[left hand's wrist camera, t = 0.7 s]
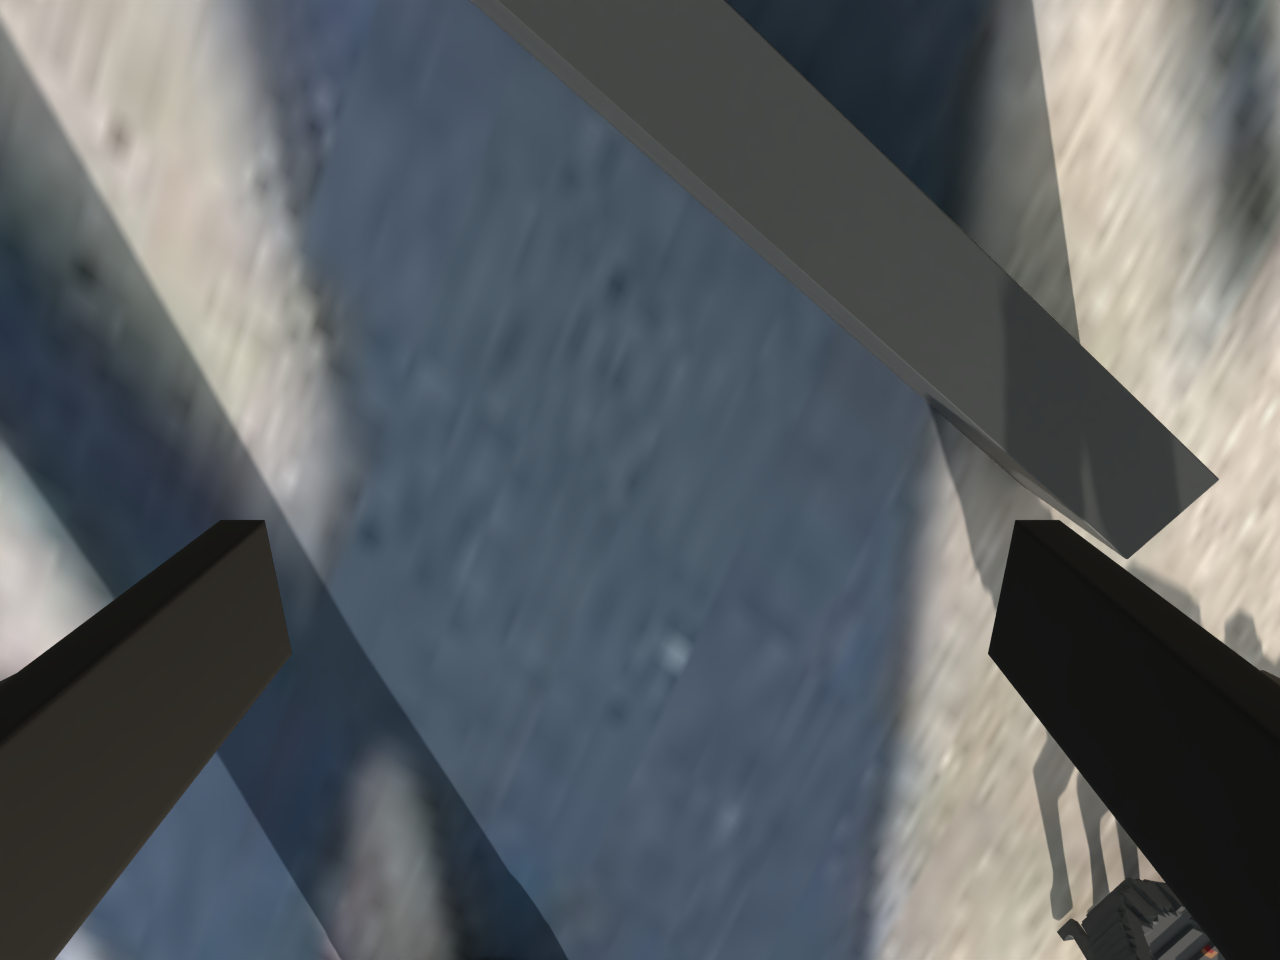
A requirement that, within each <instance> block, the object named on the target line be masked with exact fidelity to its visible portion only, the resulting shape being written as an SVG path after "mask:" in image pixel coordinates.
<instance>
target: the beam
mask: <svg viewBox="0 0 1280 960" xmlns="http://www.w3.org/2000/svg"><path fill="white" fill-rule="evenodd" d="M470 1H471V2H472V3H473V4H474V5H476V6H477V7H478V8H479V9H480V10H481V11H482V12H484V13H485V14H486V15H487V16H488V17H489V18H490V19H491V20H493V21H494V22H495V23H496V24H497V25H498V26H499V27H501V28H502V29H503V30H504V31H505V32H506V33H507V34H509V35H510V36H511V37H512V38H513V39H514V40H515V41H517V42H518V43H519V44H520V45H521V46H522V47H523V48H525V49H526V50H527V51H528V52H529V53H530V54H531V55H533V56H534V57H535V58H536V59H537V60H538V61H539V62H540V63H542V64H543V65H544V66H545V67H546V68H547V69H548V70H550V71H551V72H552V73H553V74H554V75H555V76H556V77H558V78H559V79H560V80H561V81H562V82H563V83H564V84H566V85H567V86H568V87H569V88H570V89H571V90H572V91H574V92H575V93H576V94H577V95H578V96H579V97H580V98H581V99H583V100H584V101H585V102H586V103H587V104H588V105H589V106H591V107H592V108H593V109H594V110H595V111H596V112H597V113H599V114H600V115H601V116H602V117H603V118H604V119H605V120H607V121H608V122H609V123H610V124H611V125H612V126H613V127H615V128H616V129H617V130H618V131H619V132H620V133H621V134H623V135H624V136H625V137H626V138H627V139H628V140H629V141H630V142H632V143H633V144H634V145H635V146H636V147H637V148H638V149H640V150H641V151H642V152H643V153H644V154H645V155H646V156H648V157H649V158H650V159H651V160H652V161H653V162H654V163H656V164H657V165H658V166H659V167H660V168H661V169H662V170H664V171H665V172H666V173H667V174H668V175H669V176H670V177H671V178H673V179H674V180H675V181H676V182H677V183H678V184H679V185H681V186H682V187H683V188H684V189H685V190H686V191H687V192H689V193H690V194H691V195H692V196H693V197H694V198H695V199H697V200H698V201H699V202H700V203H701V204H702V205H703V206H705V207H706V208H707V209H708V210H709V211H710V212H711V213H713V214H714V215H715V216H716V217H717V218H718V219H719V220H720V221H722V222H723V223H724V224H725V225H726V226H727V227H728V228H730V229H731V230H732V231H733V232H734V233H735V234H736V235H738V236H739V237H740V238H741V239H742V240H743V241H744V242H746V243H747V244H748V245H749V246H750V247H751V248H752V249H754V250H755V251H756V252H757V253H758V254H759V255H760V256H761V257H763V258H764V259H765V260H766V261H767V262H768V263H769V264H771V265H772V266H773V267H774V268H775V269H776V270H777V271H779V272H780V273H781V274H782V275H783V276H784V277H785V278H787V279H788V280H789V281H790V282H791V283H792V284H793V285H795V286H796V287H797V288H798V289H799V290H800V291H801V292H803V293H804V294H805V295H806V296H807V297H808V298H809V299H810V300H812V301H813V302H814V303H815V304H816V305H817V306H818V307H820V308H821V309H822V310H823V311H824V312H825V313H826V314H828V315H829V316H830V317H831V318H832V319H833V320H834V321H836V322H837V323H838V324H839V325H840V326H841V327H842V328H844V329H845V330H846V331H847V332H848V333H849V334H850V335H851V336H853V337H854V338H855V339H856V340H857V341H858V342H859V343H861V344H862V345H863V346H864V347H865V348H866V349H867V350H869V351H870V352H871V353H872V354H873V355H874V356H875V357H877V358H878V359H879V360H880V361H881V362H882V363H883V364H885V365H886V366H887V367H888V368H889V369H890V370H891V371H893V372H894V373H895V374H896V375H897V376H898V377H899V378H900V379H902V380H903V381H904V382H905V383H906V384H907V385H908V386H910V387H911V388H912V389H913V390H914V391H915V392H916V393H918V394H919V395H920V396H921V397H922V398H923V399H924V400H926V401H927V402H928V403H929V404H930V405H931V406H932V407H934V408H935V409H936V410H937V411H938V412H939V413H940V414H941V415H943V416H944V417H945V418H946V419H947V420H948V421H949V422H951V423H952V424H953V425H954V426H955V427H956V428H957V429H959V430H960V431H961V432H962V433H963V434H964V435H965V436H967V437H968V438H969V439H970V440H971V441H972V442H973V443H975V444H976V445H977V446H978V447H979V448H980V449H981V450H982V451H984V452H985V453H986V454H987V455H988V456H989V457H990V458H992V459H993V460H994V461H995V462H996V463H997V464H998V465H1000V466H1001V467H1002V468H1003V469H1004V470H1005V471H1006V472H1008V473H1009V474H1010V475H1011V476H1012V477H1013V478H1014V479H1016V480H1017V481H1018V482H1019V483H1020V484H1021V485H1022V486H1024V487H1025V488H1026V489H1028V490H1029V491H1031V492H1032V493H1034V494H1035V495H1036V496H1038V497H1039V498H1041V499H1042V500H1043V501H1045V502H1046V503H1048V504H1049V505H1050V506H1052V507H1053V508H1055V509H1056V510H1058V511H1059V512H1060V513H1062V514H1063V515H1065V516H1066V517H1067V518H1069V519H1070V520H1072V521H1073V522H1074V523H1076V524H1077V525H1079V526H1080V527H1081V528H1083V529H1084V530H1086V531H1087V532H1089V533H1090V534H1091V535H1093V536H1094V537H1096V538H1097V539H1098V540H1100V541H1101V542H1103V543H1104V544H1105V545H1107V546H1108V547H1110V548H1111V549H1113V550H1114V551H1115V552H1117V553H1118V554H1120V555H1121V556H1122V557H1124V558H1125V559H1129V558H1130V557H1131V556H1132V555H1133V554H1134V553H1135V552H1137V551H1138V550H1139V549H1140V548H1141V547H1142V546H1143V545H1145V544H1146V543H1147V542H1148V541H1149V540H1150V539H1152V538H1153V537H1154V536H1155V535H1156V534H1157V533H1158V532H1160V531H1161V530H1162V529H1163V528H1164V527H1165V526H1166V525H1168V524H1169V523H1170V522H1171V521H1172V520H1173V519H1175V518H1176V517H1177V516H1178V515H1179V514H1180V513H1181V512H1183V511H1184V510H1185V509H1186V508H1187V507H1188V506H1190V505H1191V504H1192V503H1193V502H1194V501H1195V500H1196V499H1198V498H1199V497H1200V496H1201V495H1202V494H1203V493H1204V492H1206V491H1207V490H1208V489H1209V488H1210V487H1211V486H1213V485H1214V484H1215V483H1216V482H1217V481H1218V480H1219V479H1218V478H1217V477H1216V476H1215V475H1214V474H1213V473H1212V472H1211V471H1210V470H1209V469H1208V468H1207V467H1206V466H1205V465H1204V464H1203V463H1202V462H1201V461H1200V460H1199V459H1198V458H1197V457H1196V456H1195V455H1194V454H1193V453H1192V452H1191V451H1190V450H1189V449H1188V448H1187V447H1185V446H1184V445H1183V444H1182V443H1181V442H1180V441H1179V440H1178V439H1177V438H1176V437H1175V436H1174V435H1173V434H1172V433H1171V432H1170V431H1169V430H1168V429H1167V428H1166V427H1165V426H1164V425H1163V424H1162V423H1161V422H1160V421H1159V420H1158V419H1157V418H1156V417H1155V416H1154V415H1152V414H1151V413H1150V412H1149V411H1148V410H1147V409H1146V408H1145V407H1144V406H1143V405H1142V404H1141V403H1140V402H1139V401H1138V400H1137V399H1136V398H1135V397H1134V396H1133V395H1132V394H1131V393H1130V392H1129V391H1128V390H1127V389H1126V388H1125V387H1124V386H1123V385H1122V384H1121V383H1119V382H1118V381H1117V380H1116V379H1115V378H1114V377H1113V376H1112V375H1111V374H1110V373H1109V372H1108V371H1107V370H1106V369H1105V368H1104V367H1103V366H1102V365H1101V364H1100V363H1099V362H1098V361H1097V360H1096V359H1095V358H1094V357H1093V356H1092V355H1091V354H1090V353H1089V352H1088V351H1087V350H1085V349H1084V348H1083V347H1082V346H1081V345H1080V344H1079V343H1078V342H1077V341H1076V340H1075V339H1074V338H1073V337H1072V336H1071V335H1070V334H1069V333H1068V332H1067V331H1066V330H1065V329H1064V328H1063V327H1062V326H1061V325H1060V324H1059V323H1058V322H1057V321H1056V320H1055V319H1054V318H1052V317H1051V316H1050V315H1049V314H1048V313H1047V312H1046V311H1045V310H1044V309H1043V308H1042V307H1041V306H1040V305H1039V304H1038V303H1037V302H1036V301H1035V300H1034V299H1033V298H1032V297H1031V296H1030V295H1029V294H1028V293H1027V292H1026V291H1025V290H1024V289H1023V288H1022V287H1021V286H1019V285H1018V284H1017V283H1016V282H1015V281H1014V280H1013V279H1012V278H1011V277H1010V276H1009V275H1008V274H1007V273H1006V272H1005V271H1004V270H1003V269H1002V268H1001V267H1000V266H999V265H998V264H997V263H996V262H995V261H994V260H993V259H992V258H991V257H990V256H989V255H988V254H986V253H985V252H984V251H983V250H982V249H981V248H980V247H979V246H978V245H977V244H976V243H975V242H974V241H973V240H972V239H971V238H970V237H969V236H968V235H967V234H966V233H965V232H964V231H963V230H962V229H961V228H960V227H959V226H958V225H957V224H956V223H955V222H953V221H952V220H951V219H950V218H949V217H948V216H947V215H946V214H945V213H944V212H943V211H942V210H941V209H940V208H939V207H938V206H937V205H936V204H935V203H934V202H933V201H932V200H931V199H930V198H929V197H928V196H927V195H926V194H925V193H924V192H923V191H922V190H920V189H919V188H918V187H917V186H916V185H915V184H914V183H913V182H912V181H911V180H910V179H909V178H908V177H907V176H906V175H905V174H904V173H903V172H902V171H901V170H900V169H899V168H898V167H897V166H896V165H895V164H894V163H893V162H892V161H891V160H890V159H889V158H887V157H886V156H885V155H884V154H883V153H882V152H881V151H880V150H879V149H878V148H877V147H876V146H875V145H874V144H873V143H872V142H871V141H870V140H869V139H868V138H867V137H866V136H865V135H864V134H863V133H862V132H861V131H860V130H859V129H858V128H857V127H856V126H854V125H853V124H852V123H851V122H850V121H849V120H848V119H847V118H846V117H845V116H844V115H843V114H842V113H841V112H840V111H839V110H838V109H837V108H836V107H835V106H834V105H833V104H832V103H831V102H830V101H829V100H828V99H827V98H826V97H825V96H824V95H823V94H821V93H820V92H819V91H818V90H817V89H816V88H815V87H814V86H813V85H812V84H811V83H810V82H809V81H808V80H807V79H806V78H805V77H804V76H803V75H802V74H801V73H800V72H799V71H798V70H797V69H796V68H795V67H794V66H793V65H792V64H791V63H790V62H788V61H787V60H786V59H785V58H784V57H783V56H782V55H781V54H780V53H779V52H778V51H777V50H776V49H775V48H774V47H773V46H772V45H771V44H770V43H769V42H768V41H767V40H766V39H765V38H764V37H763V36H762V35H761V34H760V33H759V32H758V31H757V30H755V29H754V28H753V27H752V26H751V25H750V24H749V23H748V22H747V21H746V20H745V19H744V18H743V17H742V16H741V15H740V14H739V13H738V12H737V11H736V10H735V9H734V8H733V7H732V6H731V5H730V4H729V3H728V2H727V1H726V0H470Z"/></svg>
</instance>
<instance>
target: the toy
mask: <svg viewBox="0 0 1280 960" xmlns="http://www.w3.org/2000/svg"><path fill="white" fill-rule="evenodd" d="M1086 916H1087V917H1086V918H1085V919H1084V920H1083V921H1082V922H1083V923H1082V924H1081V925H1082V927H1083V928H1084V930H1085V931H1084V930H1083V928H1082V927H1081V926H1080V924H1079V923H1078V922H1077V921H1075V920H1073V919H1070V920H1069V921H1068V922H1067V923H1066V924H1065V925H1064V926H1063V927H1062V928H1061V929H1059V930H1058V931H1057V933H1058V934H1059V935H1060V937H1061V938H1062V939H1063V940H1064V941H1066V940H1073V939H1075V941H1076V943H1077V944H1078V946H1079V948H1080V949H1081V951H1082V953H1083V954H1084V956H1085V958H1086V959H1087V960H1225V958H1224V957H1223V956H1222V954H1221V953H1220V952H1219V951H1218V949H1217V948H1216V947H1215V945H1214V944H1213V943H1212V942H1211V940H1210V939H1209V938H1208V936H1207V935H1206V934H1205V933H1204V931H1203V930H1202V929H1201V927H1200V926H1199V925H1198V924H1197V922H1196V921H1195V920H1194V918H1193V917H1192V916H1191V915H1190V913H1189V912H1188V911H1187V909H1186V908H1185V907H1184V906H1183V904H1182V903H1181V902H1180V900H1179V899H1178V898H1177V897H1176V895H1175V894H1174V893H1173V891H1172V890H1171V889H1170V888H1169V886H1168V885H1167V884H1166V883H1162V882H1155V881H1150V880H1145V879H1144V880H1143V881H1142V880H1140V879H1136V880H1134V879H1131V878H1126V879H1125V880H1124V881H1123V882H1122V883H1121V884H1120V885H1118V886H1117V887H1116V888H1115V889H1114V890H1113V891H1112V892H1111V893H1110V894H1109V895H1108V896H1107V897H1105V898H1104V899H1103V900H1102V901H1101V902H1100V903H1099V904H1098V905H1097V906H1096V907H1095V908H1093V909H1092V910H1091V911H1090V912H1089V913H1088V914H1087V915H1086ZM1086 933H1087V934H1086Z"/></svg>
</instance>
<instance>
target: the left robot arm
mask: <svg viewBox="0 0 1280 960" xmlns="http://www.w3.org/2000/svg"><path fill="white" fill-rule="evenodd" d="M291 654H292V651H291V647H290V642H289V637H288V632H287V627H286V622H285V617H284V612H283V608H282V603H281V598H280V593H279V588H278V583H277V578H276V573H275V569H274V564H273V559H272V554H271V549H270V544H269V539H268V534H267V530H266V525H265V520H220V521H219V522H218V523H216V524H215V525H214V526H212V527H211V528H210V529H208V530H207V531H206V532H204V533H203V534H202V535H200V536H199V537H198V538H196V539H195V540H194V541H192V542H191V543H190V544H188V545H187V546H186V547H184V548H183V549H182V550H180V551H179V552H178V553H176V554H175V555H174V556H172V557H171V558H170V559H168V560H167V561H166V562H164V563H163V564H162V565H160V566H159V567H158V568H156V569H155V570H154V571H152V572H151V573H150V574H148V575H147V576H146V577H144V578H143V579H142V580H140V581H139V582H138V583H136V584H135V585H134V586H132V587H131V588H130V589H128V590H127V591H126V592H124V593H123V594H122V595H120V596H119V597H118V598H116V599H115V600H114V601H112V602H111V603H110V604H108V605H107V606H106V607H104V608H103V609H102V610H100V611H99V612H98V613H96V614H95V615H94V616H92V617H91V618H90V619H88V620H87V621H86V622H84V623H83V624H82V625H80V626H79V627H78V628H76V629H75V630H74V631H72V632H71V633H70V634H68V635H67V636H66V637H64V638H63V639H62V640H60V641H59V642H58V643H56V644H55V645H54V646H52V647H51V648H50V649H48V650H47V651H46V652H44V653H43V654H42V655H40V656H39V657H38V658H36V659H35V660H34V661H32V662H31V663H30V664H28V665H27V666H26V667H24V668H23V669H22V670H20V671H19V672H18V673H16V674H14V675H12V676H10V677H8V678H6V679H4V680H2V681H0V960H55V958H56V957H57V956H58V954H59V953H60V952H61V951H62V949H63V948H64V947H65V945H66V944H67V943H68V942H69V940H70V939H71V938H72V936H73V935H74V934H75V933H76V931H77V930H78V929H79V927H80V926H81V925H82V924H83V922H84V921H85V920H86V918H87V917H88V916H89V915H90V913H91V912H92V911H93V909H94V908H95V907H96V906H97V904H98V903H99V902H100V900H101V899H102V898H103V897H104V895H105V894H106V893H107V891H108V890H109V889H110V888H111V886H112V885H113V884H114V882H115V881H116V880H117V878H118V877H119V876H120V875H121V873H122V872H123V871H124V869H125V868H126V867H127V866H128V864H129V863H130V862H131V860H132V859H133V858H134V857H135V855H136V854H137V853H138V851H139V850H140V849H141V848H142V846H143V845H144V844H145V842H146V841H147V840H148V839H149V837H150V836H151V835H152V833H153V832H154V831H155V830H156V828H157V827H158V826H159V824H160V823H161V822H162V821H163V819H164V818H165V817H166V815H167V814H168V813H169V812H170V810H171V809H172V808H173V806H174V805H175V804H176V802H177V801H178V800H179V799H180V797H181V796H182V795H183V793H184V792H185V791H186V790H187V788H188V787H189V786H190V784H191V783H192V782H193V781H194V779H195V778H196V777H197V775H198V774H199V773H200V772H201V770H202V769H203V768H204V766H205V765H206V764H207V763H208V761H209V760H210V759H211V757H212V756H213V755H214V754H215V752H216V751H217V750H218V748H219V747H220V746H221V745H222V743H223V742H224V741H225V739H226V738H227V737H228V736H229V734H230V733H231V732H232V730H233V729H234V728H235V726H236V725H237V724H238V723H239V721H240V720H241V719H242V717H243V716H244V715H245V714H246V712H247V711H248V710H249V708H250V707H251V706H252V705H253V703H254V702H255V701H256V699H257V698H258V697H259V696H260V694H261V693H262V692H263V690H264V689H265V688H266V687H267V685H268V684H269V683H270V681H271V680H272V679H273V678H274V676H275V675H276V674H277V672H278V671H279V670H280V669H281V667H282V666H283V665H284V663H285V662H286V661H287V660H288V658H289V657H290V656H291ZM988 654H989V656H990V657H991V658H992V660H993V661H994V662H995V663H996V665H997V666H998V667H999V669H1000V670H1001V671H1002V672H1003V674H1004V675H1005V676H1006V678H1007V679H1008V680H1009V681H1010V683H1011V684H1012V685H1013V687H1014V688H1015V689H1016V690H1017V692H1018V693H1019V694H1020V696H1021V697H1022V698H1023V699H1024V701H1025V702H1026V703H1027V705H1028V706H1029V707H1030V708H1031V710H1032V711H1033V712H1034V714H1035V715H1036V716H1037V717H1038V719H1039V720H1040V721H1041V723H1042V724H1043V725H1044V726H1045V728H1046V729H1047V730H1048V732H1049V733H1050V734H1051V736H1052V737H1053V738H1054V739H1055V741H1056V742H1057V743H1058V745H1059V746H1060V747H1061V748H1062V750H1063V751H1064V752H1065V754H1066V755H1067V756H1068V757H1069V759H1070V760H1071V761H1072V763H1073V764H1074V765H1075V766H1076V768H1077V769H1078V770H1079V772H1080V773H1081V774H1082V775H1083V777H1084V778H1085V779H1086V781H1087V782H1088V783H1089V784H1090V786H1091V787H1092V788H1093V790H1094V791H1095V792H1096V793H1097V795H1098V796H1099V797H1100V799H1101V800H1102V801H1103V802H1104V804H1105V805H1106V806H1107V808H1108V809H1109V810H1110V812H1111V813H1112V814H1113V815H1114V817H1115V818H1116V819H1117V821H1118V822H1119V823H1120V824H1121V826H1122V827H1123V828H1124V830H1125V831H1126V832H1127V833H1128V835H1129V836H1130V837H1131V839H1132V840H1133V841H1134V842H1135V844H1136V845H1137V846H1138V848H1139V849H1140V850H1141V851H1142V853H1143V854H1144V855H1145V857H1146V858H1147V859H1148V860H1149V862H1150V863H1151V864H1152V866H1153V867H1154V868H1155V869H1156V871H1157V872H1158V873H1159V875H1160V876H1161V877H1162V878H1163V880H1164V881H1165V882H1166V884H1167V885H1168V886H1169V888H1170V889H1171V890H1172V891H1173V893H1174V894H1175V895H1176V897H1177V898H1178V899H1179V900H1180V902H1181V903H1182V904H1183V906H1184V907H1185V908H1186V909H1187V911H1188V912H1189V913H1190V915H1191V916H1192V917H1193V918H1194V920H1195V921H1196V922H1197V924H1198V925H1199V926H1200V927H1201V929H1202V930H1203V931H1204V933H1205V934H1206V935H1207V936H1208V938H1209V939H1210V940H1211V942H1212V943H1213V944H1214V945H1215V947H1216V948H1217V949H1218V951H1219V952H1220V953H1221V954H1222V956H1223V957H1224V958H1225V960H1280V678H1278V677H1276V676H1274V675H1272V674H1270V673H1268V672H1266V671H1264V670H1258V669H1257V668H1256V667H1254V666H1253V665H1252V664H1250V663H1249V662H1248V661H1246V660H1245V659H1244V658H1242V657H1241V656H1240V655H1238V654H1237V653H1236V652H1234V651H1233V650H1232V649H1230V648H1229V647H1228V646H1226V645H1225V644H1224V643H1222V642H1221V641H1220V640H1218V639H1217V638H1216V637H1214V636H1213V635H1212V634H1210V633H1209V632H1208V631H1206V630H1205V629H1204V628H1202V627H1201V626H1200V625H1198V624H1197V623H1196V622H1194V621H1193V620H1192V619H1190V618H1189V617H1188V616H1186V615H1185V614H1184V613H1182V612H1181V611H1180V610H1178V609H1177V608H1176V607H1174V606H1173V605H1172V604H1170V603H1169V602H1168V601H1166V600H1165V599H1164V598H1162V597H1161V596H1160V595H1158V594H1157V593H1156V592H1154V591H1153V590H1152V589H1150V588H1149V587H1148V586H1146V585H1145V584H1144V583H1142V582H1141V581H1140V580H1138V579H1137V578H1136V577H1134V576H1133V575H1132V574H1130V573H1129V572H1128V571H1126V570H1125V569H1124V568H1122V567H1121V566H1120V565H1118V564H1117V563H1116V562H1114V561H1113V560H1112V559H1110V558H1109V557H1108V556H1106V555H1105V554H1104V553H1102V552H1101V551H1100V550H1098V549H1097V548H1096V547H1094V546H1093V545H1092V544H1090V543H1089V542H1088V541H1086V540H1085V539H1084V538H1082V537H1081V536H1080V535H1078V534H1077V533H1076V532H1074V531H1073V530H1072V529H1070V528H1069V527H1068V526H1066V525H1065V524H1064V523H1062V522H1061V521H1060V520H1015V525H1014V530H1013V534H1012V539H1011V544H1010V549H1009V554H1008V559H1007V564H1006V569H1005V573H1004V578H1003V583H1002V588H1001V593H1000V598H999V603H998V608H997V612H996V617H995V622H994V627H993V632H992V637H991V642H990V647H989V651H988Z"/></svg>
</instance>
